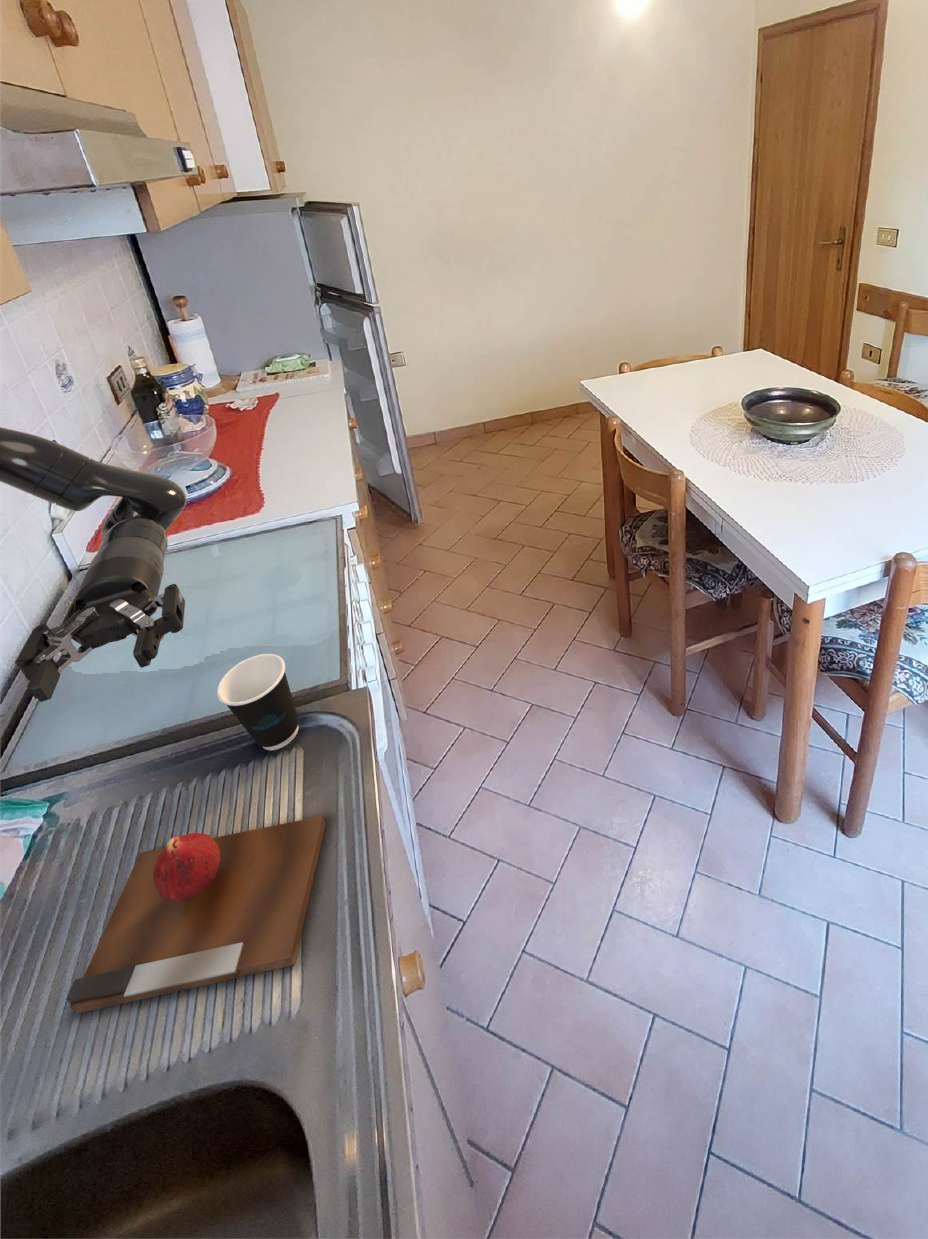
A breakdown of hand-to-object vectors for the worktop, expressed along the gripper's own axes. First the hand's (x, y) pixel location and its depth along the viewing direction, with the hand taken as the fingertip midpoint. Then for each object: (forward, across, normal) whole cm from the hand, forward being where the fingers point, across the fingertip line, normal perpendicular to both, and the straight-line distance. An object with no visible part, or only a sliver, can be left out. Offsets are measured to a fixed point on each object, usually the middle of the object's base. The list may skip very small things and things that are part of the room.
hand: (91, 677), depth 63 cm
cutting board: (+11, -3, -26) cm, 28 cm away
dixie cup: (-9, -10, -26) cm, 29 cm away
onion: (+9, -2, -24) cm, 26 cm away
